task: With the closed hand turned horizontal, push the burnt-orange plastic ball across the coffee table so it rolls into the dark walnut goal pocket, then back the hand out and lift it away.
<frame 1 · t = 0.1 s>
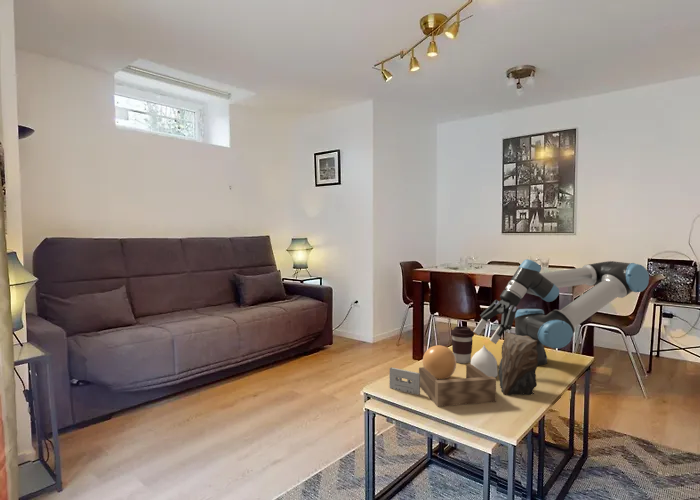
hand: (484, 337, 168), 15 cm above the table, tool tilted 35°, fingers open, 13 cm apart
coffee cup: (461, 361, 186), on the table
goal pocket: (455, 393, 150), on the table
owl: (512, 390, 153), on the table
ball: (439, 362, 164), point 6 cm above the table
teardrop: (483, 374, 170), on the table
cassette: (404, 391, 152), on the table
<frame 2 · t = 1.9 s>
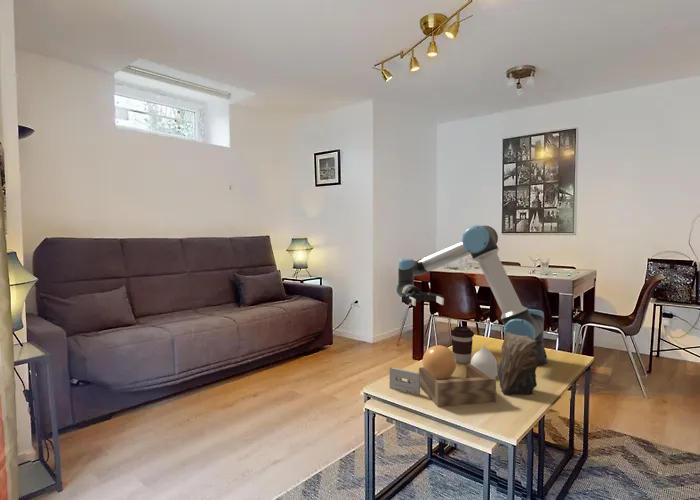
hand: (429, 302, 175), 28 cm above the table, tool horizontal, fingers open, 12 cm apart
nothing on the table moved.
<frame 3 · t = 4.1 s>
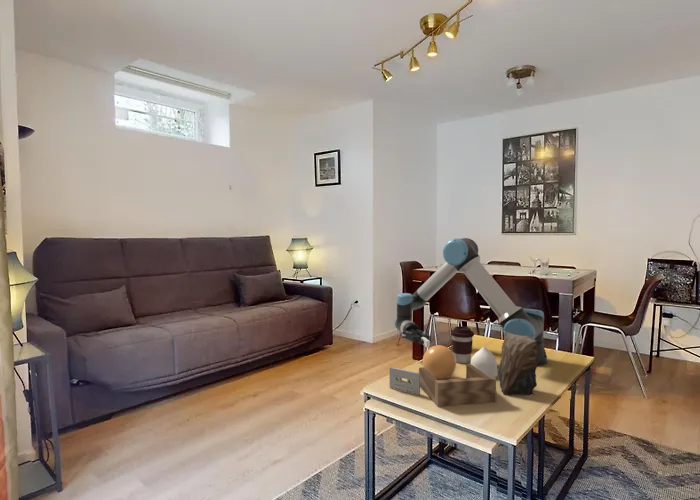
hand: (428, 344, 175), 11 cm above the table, tool horizontal, fingers closed
nothing on the table moved.
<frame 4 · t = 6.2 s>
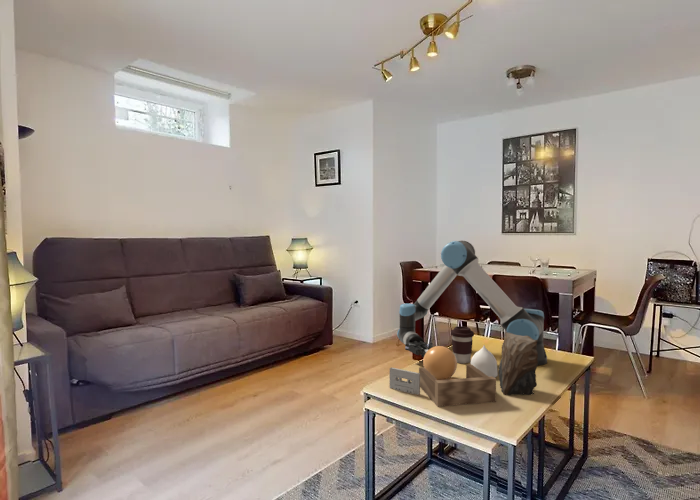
hand: (431, 357, 170), 7 cm above the table, tool horizontal, fingers closed
ball: (439, 362, 164), point 6 cm above the table, tilted 6°, touching gripper
everything else where it was.
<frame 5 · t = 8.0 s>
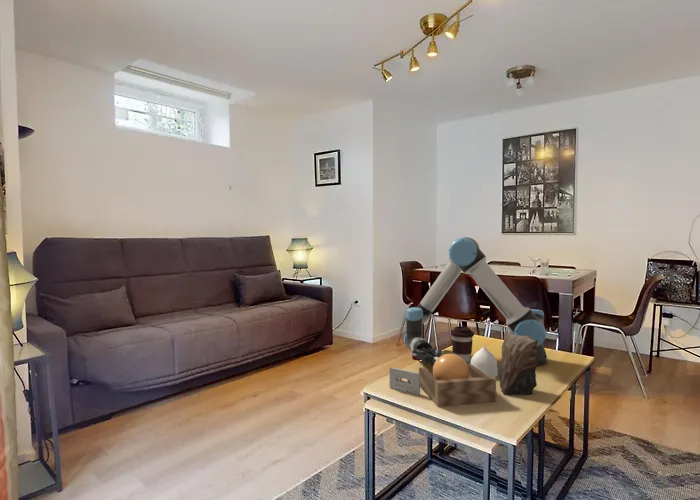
hand: (441, 365, 160), 7 cm above the table, tool horizontal, fingers closed
ball: (450, 371, 154), point 6 cm above the table, tilted 59°, touching gripper
everything else where it was.
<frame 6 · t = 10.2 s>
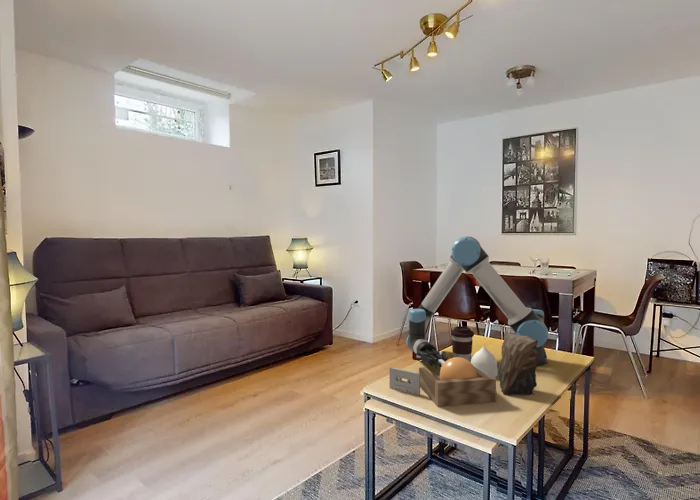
hand: (446, 368, 157), 7 cm above the table, tool horizontal, fingers closed
ball: (458, 375, 149), point 6 cm above the table, tilted 92°
everything else where it was.
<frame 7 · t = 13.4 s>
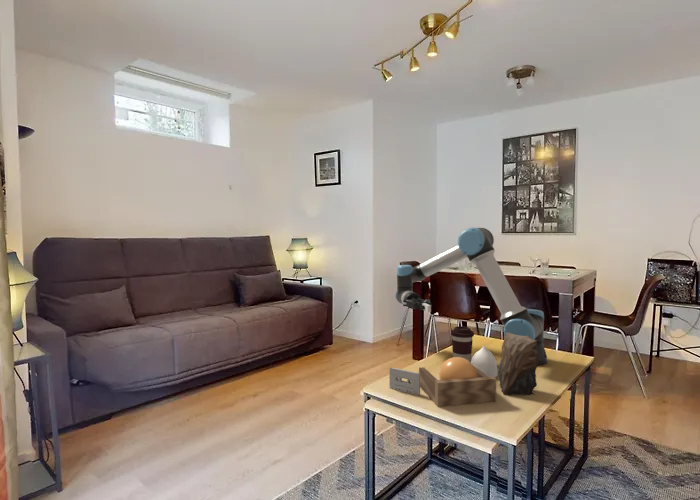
hand: (429, 309, 174), 26 cm above the table, tool horizontal, fingers closed
nothing on the table moved.
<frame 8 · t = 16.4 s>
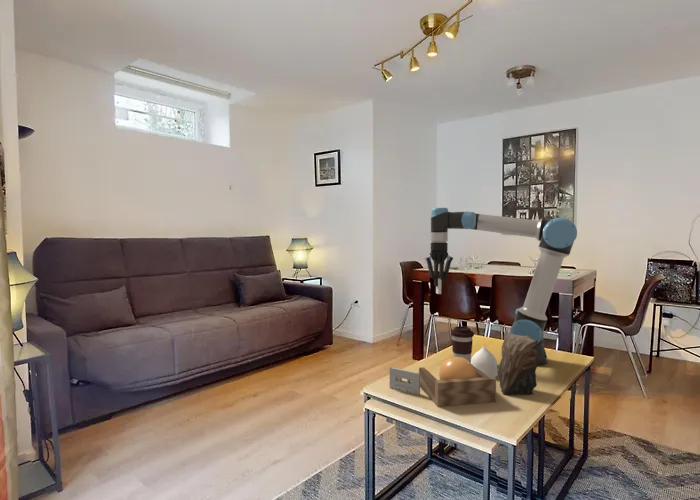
hand: (438, 293, 190), 29 cm above the table, tool pointing down, fingers closed
nothing on the table moved.
at the end: ball inside the target area on the goal pocket (1.9 cm from its centre), point 6.5 cm above the goal pocket's base; the gripper is holding nothing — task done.
